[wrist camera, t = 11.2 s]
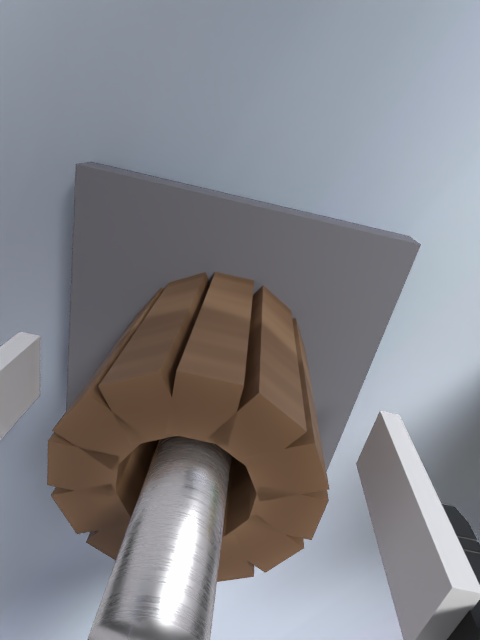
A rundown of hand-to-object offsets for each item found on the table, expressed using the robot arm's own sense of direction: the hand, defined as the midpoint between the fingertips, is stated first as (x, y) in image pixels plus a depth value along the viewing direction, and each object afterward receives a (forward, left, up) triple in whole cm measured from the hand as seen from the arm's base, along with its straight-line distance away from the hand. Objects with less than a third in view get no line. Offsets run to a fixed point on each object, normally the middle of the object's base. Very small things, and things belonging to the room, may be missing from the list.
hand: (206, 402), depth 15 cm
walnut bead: (0, 0, -4) cm, 4 cm away
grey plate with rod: (0, 0, -5) cm, 5 cm away
